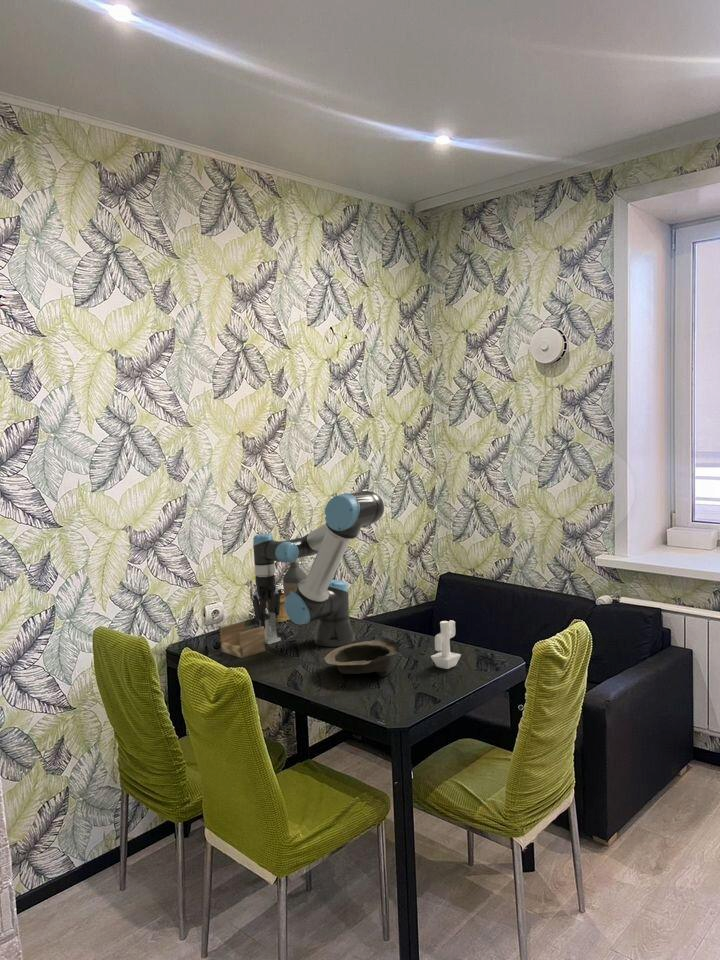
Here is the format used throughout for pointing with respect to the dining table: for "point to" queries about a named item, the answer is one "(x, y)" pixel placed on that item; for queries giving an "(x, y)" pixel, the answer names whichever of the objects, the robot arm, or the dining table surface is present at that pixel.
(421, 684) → the dining table surface
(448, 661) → the figurine
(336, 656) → the stone bowl
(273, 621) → the bracket
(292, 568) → the liquor
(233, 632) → the open wooden box
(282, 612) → the wooden mug
